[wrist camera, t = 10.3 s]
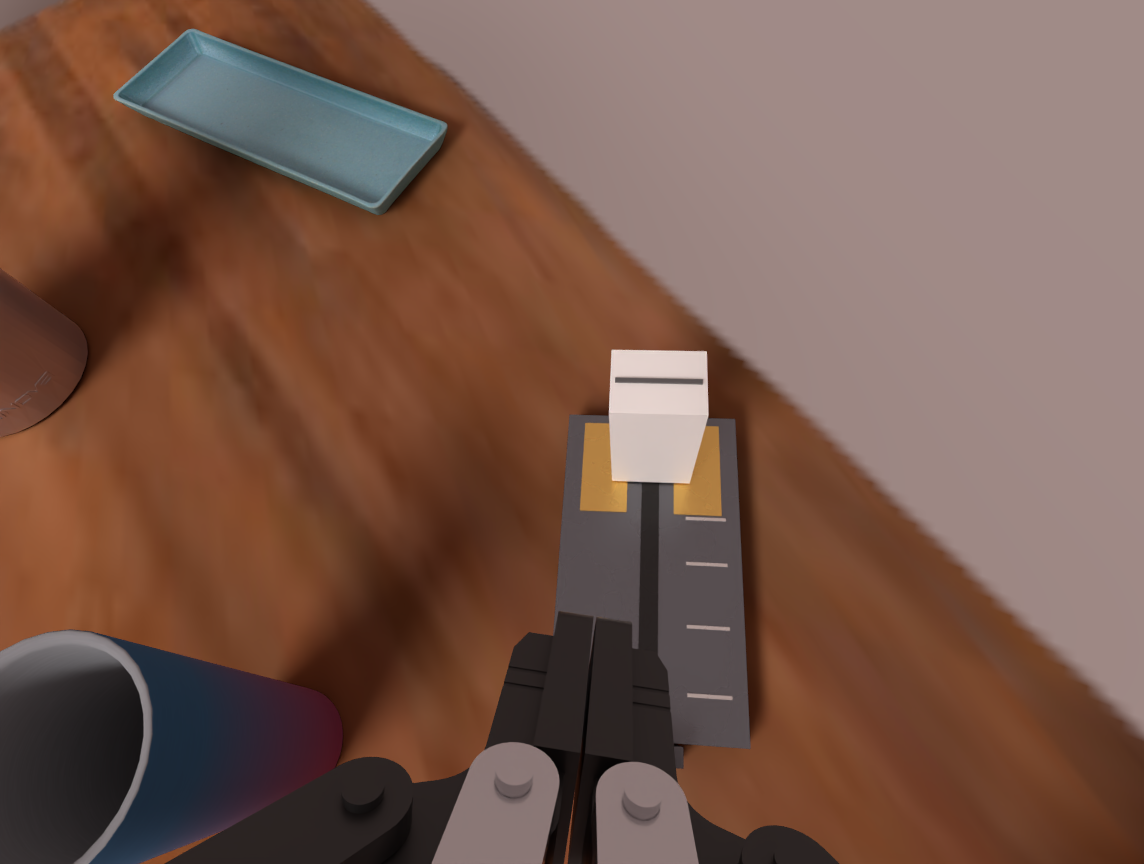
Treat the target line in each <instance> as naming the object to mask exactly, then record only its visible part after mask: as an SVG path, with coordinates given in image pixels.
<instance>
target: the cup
mask: <svg viewBox="0 0 1144 864" xmlns="http://www.w3.org/2000/svg"><path fill="white" fill-rule="evenodd" d="M342 744H343V728H342V721H341V719H340V716H339V713H338V711H337V709H336V707H335V706H334V704H333V703H332V702H331V701H330V700H329V699H328V698H327V697H326V696H325V695H323V694H322V693H320V692H318V691H315V690H312V689H309V688H305V687H301V686H298V685H294V684H290V683H286V682H282V681H278V680H275V679H271V678H267V677H263V676H259V675H255V674H252V673H248V672H244V671H240V670H236V669H232V668H229V667H225V666H221V665H217V664H213V663H209V662H206V661H202V660H198V659H194V658H190V657H186V656H183V655H179V654H175V653H171V652H167V651H163V650H160V649H156V648H152V647H148V646H144V645H140V644H137V643H133V642H129V641H125V640H121V639H117V638H114V637H110V636H106V635H102V634H98V633H94V632H90V631H80V630H62V631H53V632H47V633H43V634H40V635H37V636H34V637H31V638H28V639H24V640H22V641H20V642H18V643H16V644H14V645H12V646H10V647H8V648H6V649H4V650H2V651H0V864H139V863H141V862H144V861H147V860H149V859H152V858H154V857H157V856H159V855H162V854H164V853H167V852H170V851H172V850H175V849H177V848H180V847H182V846H185V845H187V844H190V843H192V842H195V841H198V840H200V839H203V838H205V837H208V836H210V835H213V834H215V833H218V832H221V831H223V830H225V829H227V828H229V827H231V826H233V825H234V824H236V823H238V822H240V821H241V820H243V819H245V818H247V817H249V816H250V815H252V814H254V813H256V812H257V811H259V810H261V809H263V808H265V807H266V806H268V805H270V804H272V803H273V802H275V801H277V800H279V799H281V798H282V797H284V796H286V795H288V794H289V793H291V792H293V791H295V790H297V789H298V788H300V787H302V786H304V785H305V784H307V783H309V782H311V781H313V780H314V779H316V778H318V777H320V776H322V775H323V774H325V773H327V772H329V771H330V770H332V769H334V768H335V767H336V764H337V762H338V759H339V757H340V753H341V748H342Z"/></svg>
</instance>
